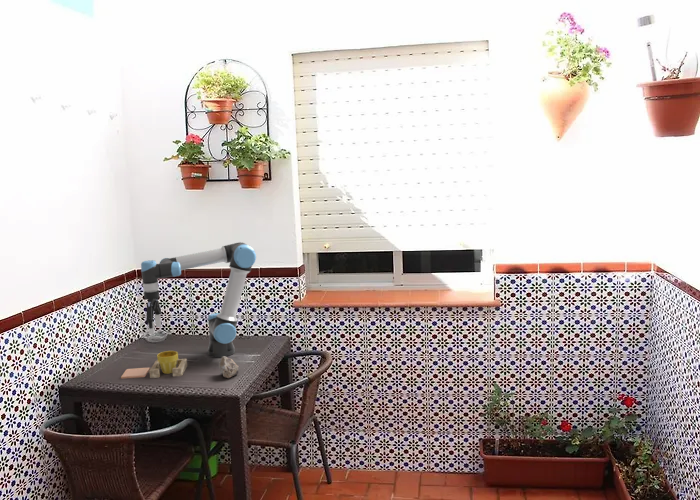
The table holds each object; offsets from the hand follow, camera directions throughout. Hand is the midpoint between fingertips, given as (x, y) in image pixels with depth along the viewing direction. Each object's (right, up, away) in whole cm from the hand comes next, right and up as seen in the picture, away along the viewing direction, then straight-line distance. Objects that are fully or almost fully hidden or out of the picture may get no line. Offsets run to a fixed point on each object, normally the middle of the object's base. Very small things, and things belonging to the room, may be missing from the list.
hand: (155, 330), depth 343 cm
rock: (+40, -22, -10) cm, 47 cm away
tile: (-10, -23, 0) cm, 25 cm away
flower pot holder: (+7, -22, +1) cm, 23 cm away
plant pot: (+7, -22, +1) cm, 23 cm away
